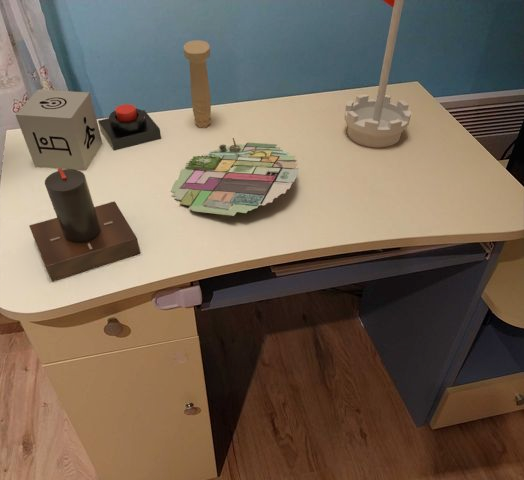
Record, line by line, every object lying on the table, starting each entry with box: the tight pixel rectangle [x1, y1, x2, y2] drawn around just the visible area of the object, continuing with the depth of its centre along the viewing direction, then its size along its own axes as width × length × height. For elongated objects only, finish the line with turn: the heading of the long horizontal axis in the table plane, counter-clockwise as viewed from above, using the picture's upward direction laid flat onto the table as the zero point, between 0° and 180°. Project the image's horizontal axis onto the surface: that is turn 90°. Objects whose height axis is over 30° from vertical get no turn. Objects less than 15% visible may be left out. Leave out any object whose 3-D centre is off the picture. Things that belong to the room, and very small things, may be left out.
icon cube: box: [15, 88, 104, 171], centre depth 93 cm, size 10×10×10 cm
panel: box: [28, 201, 141, 282], centre depth 78 cm, size 14×11×3 cm
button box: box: [97, 107, 162, 151], centre depth 101 cm, size 9×10×4 cm
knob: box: [44, 168, 101, 243], centre depth 74 cm, size 6×6×9 cm
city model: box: [170, 137, 300, 217], centre depth 90 cm, size 25×23×6 cm
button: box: [114, 103, 137, 121], centre depth 99 cm, size 4×4×2 cm
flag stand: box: [344, 0, 412, 148], centre depth 92 cm, size 13×13×30 cm
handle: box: [183, 39, 212, 129], centre depth 99 cm, size 5×6×15 cm
